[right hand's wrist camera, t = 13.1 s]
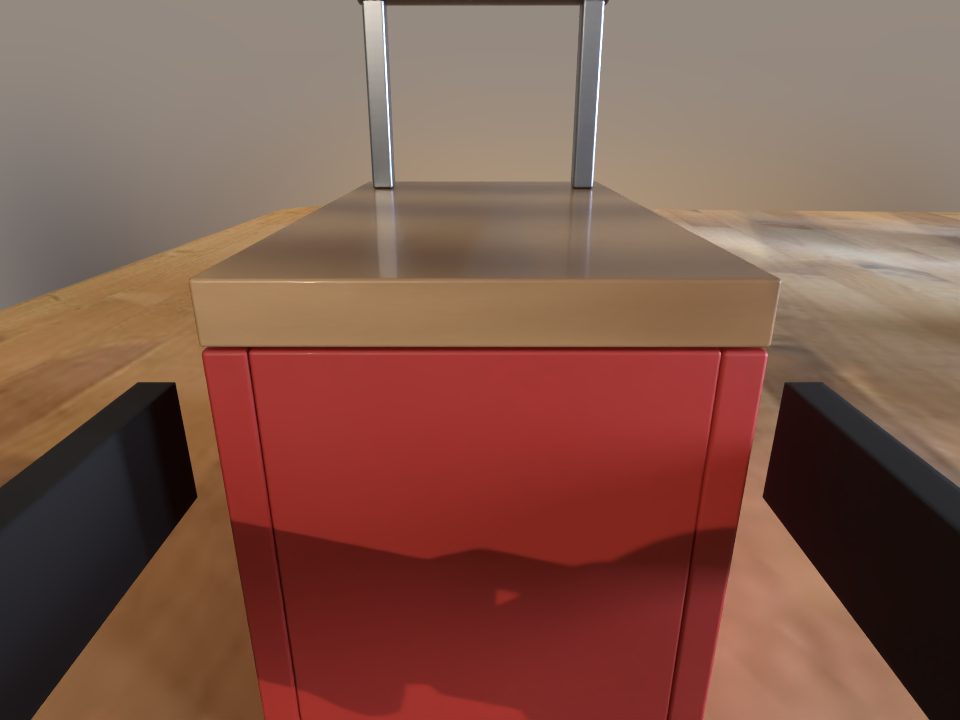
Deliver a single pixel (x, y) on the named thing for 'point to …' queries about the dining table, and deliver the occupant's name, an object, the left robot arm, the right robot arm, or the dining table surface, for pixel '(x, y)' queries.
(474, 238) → the lid
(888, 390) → the dining table surface
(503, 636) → the chest
